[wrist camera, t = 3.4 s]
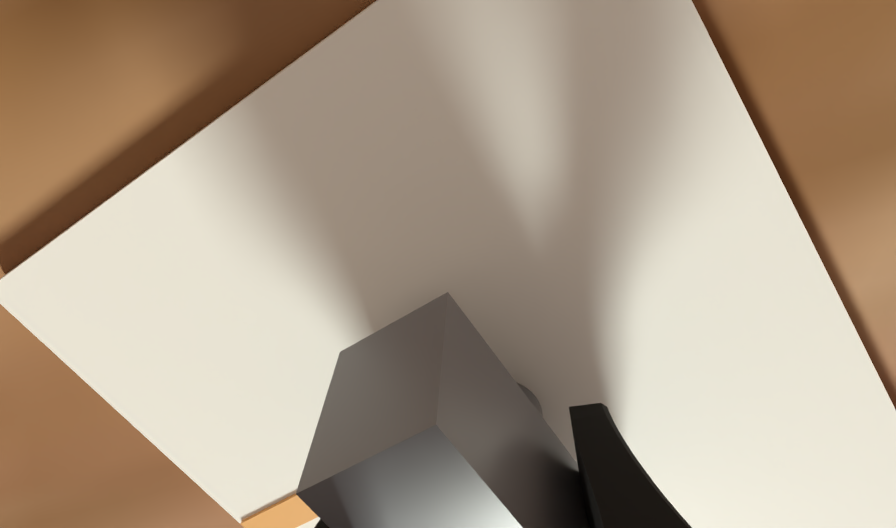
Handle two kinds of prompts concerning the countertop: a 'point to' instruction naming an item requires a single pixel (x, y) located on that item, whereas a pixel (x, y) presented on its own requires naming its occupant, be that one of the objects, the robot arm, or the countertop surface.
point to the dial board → (482, 261)
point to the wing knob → (435, 436)
